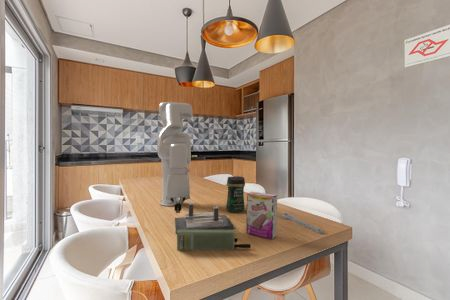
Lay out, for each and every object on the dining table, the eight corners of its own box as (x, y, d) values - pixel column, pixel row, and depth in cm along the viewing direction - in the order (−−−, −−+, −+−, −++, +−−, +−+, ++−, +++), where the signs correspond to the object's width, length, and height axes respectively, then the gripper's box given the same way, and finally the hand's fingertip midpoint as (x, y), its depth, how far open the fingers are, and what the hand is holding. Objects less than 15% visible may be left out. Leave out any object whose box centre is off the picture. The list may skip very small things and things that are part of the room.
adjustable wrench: (325, 234, 91) (325, 230, 91) (312, 236, 88) (312, 232, 88) (288, 215, 114) (288, 212, 114) (277, 216, 112) (278, 213, 112)
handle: (213, 220, 96) (213, 206, 96) (217, 220, 97) (217, 205, 97) (214, 222, 94) (214, 207, 94) (218, 222, 95) (218, 207, 95)
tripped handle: (188, 216, 102) (188, 202, 102) (192, 216, 102) (192, 202, 102) (188, 217, 100) (188, 203, 100) (193, 217, 100) (193, 203, 100)
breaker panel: (174, 221, 103) (174, 213, 103) (225, 217, 108) (225, 210, 108) (175, 233, 88) (175, 225, 88) (233, 229, 94) (233, 220, 94)
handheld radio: (178, 247, 78) (249, 247, 78) (176, 252, 74) (251, 252, 75) (178, 228, 77) (250, 228, 78) (176, 232, 74) (251, 232, 74)
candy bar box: (245, 234, 89) (246, 193, 89) (250, 230, 93) (251, 191, 93) (272, 240, 83) (273, 197, 83) (276, 235, 88) (277, 194, 87)
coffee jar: (229, 213, 115) (229, 177, 114) (224, 209, 122) (225, 175, 122) (246, 212, 118) (247, 177, 117) (241, 208, 125) (241, 175, 125)
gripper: (194, 170, 104) (193, 209, 105) (161, 170, 101) (161, 210, 101) (195, 172, 97) (195, 213, 98) (160, 172, 94) (160, 216, 94)
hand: (177, 212), depth 100 cm, fingers closed
